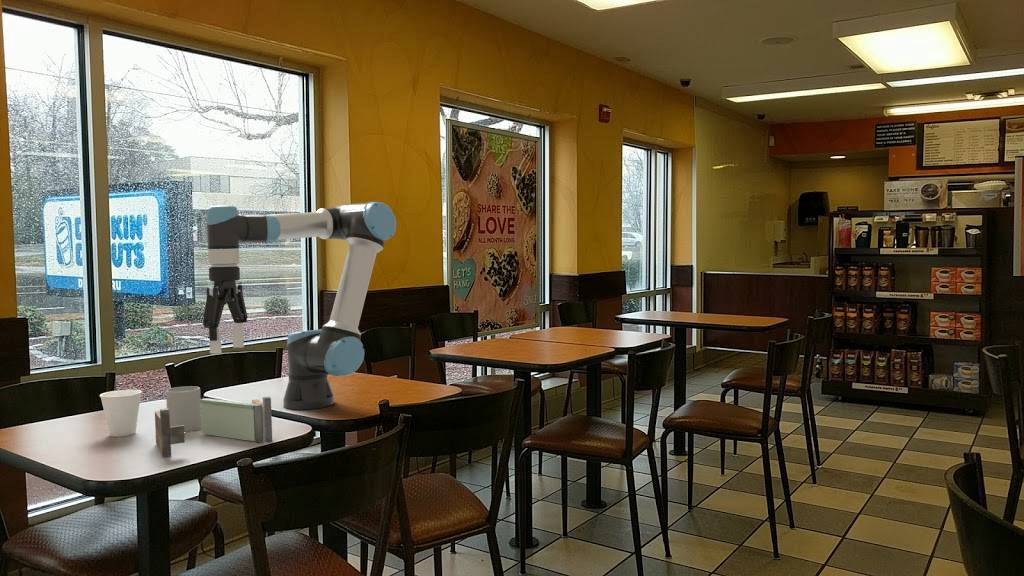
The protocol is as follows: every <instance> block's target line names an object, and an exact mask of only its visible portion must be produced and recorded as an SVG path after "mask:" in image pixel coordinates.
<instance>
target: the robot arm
mask: <svg viewBox="0 0 1024 576" xmlns="http://www.w3.org/2000/svg"><path fill="white" fill-rule="evenodd" d="M396 219H397V218H396V216H395V214H394V212H393V210H392V208H391V207H390V206H389V205H387V204H386V203H384V202H381V201H368V202H358V203H346V204H342V205H338V206H334V207H333V206H332V207H326V208H319V209H318V210H316V211H313V212H310V211H309V212H295V213H274V214H273V213H272V214H241V213H239V211H238V208H237V206H235V205H234V206H233V205H232V206H231V205H211V206H210V207H208V208H207V210H206V224H205V225H206V235H207V249H208V251H207V258H208V265H210V266H209V267H208V279H209V281H210V282H213V287H212V286H211V287H209V286H208V287H206V300H205V308H204V313H203V321H202V325H203V327H204V329H208V336H209V338H208V339H209V354H216V355H217V354H222V333H221V332H222V331H221V327H219V325H220V322H221V318H222V315H223V310H224V307H225V305H227V307H228V311H229V313H230V315H231V318H232V320H233V322H232V323H231V328H232V330H231V331H232V348H234V349H235V348H245V342H244V341H245V340H244V338H245V337H244V323H247V322H248V313H247V312H248V311H247V308H246V307H247V306H246V303H245V298H244V293H243V284H236V282H237V281H240V279H241V270H240V269H241V268H240V267H239V266H238V265H239V264H240V249H239V248H240V247H239V246H240V244H262V243H263V244H268V243H269V244H270V243H275V242H277V241H278V240H279V241H280V240H291V239H303V238H304V239H305V238H316V237H319V238H320V239H322V240H343V241H345V242H346V244H347V245H348V249H347V253H346V257H345V261H344V264H343V269H342V272H341V276H340V280H339V283H338V288H337V289H336V290H337V291H336V295H335V299H334V302H333V307H332V310H331V313H330V317H329V320H328V322H327V323H325V324H323V325H322V328H320V329H319V328H318V329H313V330H312V329H311V330H304V331H295V332H290V333H289V334H288V335H287V342H286V343H287V344H286V348H287V368H288V370H287V371H288V382H287V385H286V389H285V393H284V396H283V401H282V402H283V407H284V409H285V408H286V409H291V410H313V409H321V408H325V407H330V406H332V405H334V404H335V395H334V392H333V390H332V387H331V384H330V381H329V378H328V375H331V376H334V377H340V376H341V377H347V376H351V375H353V373H354V372H356V371H358V369H359V368H360V367H361V365H362V364H363V362H364V358H365V348H364V344H363V343H362V341H361V338H362V333H361V331H360V330H359V325H360V321H361V317H362V313H363V310H364V309H363V308H364V305H365V301H366V297H367V293H368V290H369V289H368V288H369V285H370V281H371V276H372V274H373V269H374V265H375V262H376V257H377V254H378V253H380V252H381V251H383V250H384V247H385V246H384V245H385V241H387V240H389V239H391V238H392V237H393V236H394V235H395V232H396V229H397V220H396Z"/></svg>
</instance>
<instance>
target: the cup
mask: <svg viewBox="0 0 1024 576" xmlns="http://www.w3.org/2000/svg"><path fill="white" fill-rule="evenodd" d="M141 394H143V391H142V390H140V389H119V390H112V391H111V390H110V391H107V392H103V393H101V394H99V397H100V399H101V404H102V408H103V412H104V416H105V420H106V425H107V428H108V429H107V430H108V434H109V436H110V437H113V438H115V437H116V438H121V437H123V438H124V437H128V436H132V435H134V434H135V433H136V431H137V425H138V424H137V423H138V415H139V409H140V402H141Z"/></svg>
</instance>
